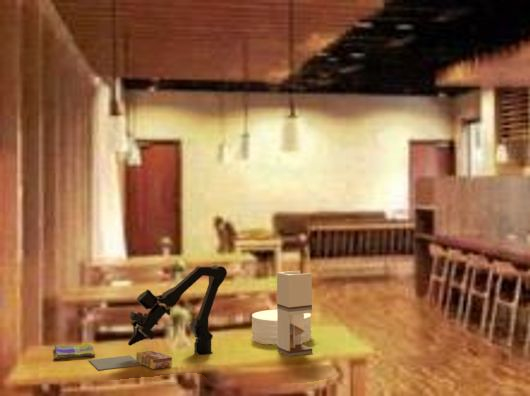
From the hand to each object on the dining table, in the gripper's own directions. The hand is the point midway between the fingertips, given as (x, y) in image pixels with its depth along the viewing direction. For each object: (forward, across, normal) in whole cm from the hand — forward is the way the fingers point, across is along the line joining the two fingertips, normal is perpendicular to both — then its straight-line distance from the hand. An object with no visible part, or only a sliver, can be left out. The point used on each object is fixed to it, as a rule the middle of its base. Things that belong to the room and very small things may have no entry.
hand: (128, 344), depth 334 cm
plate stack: (-49, -10, +60) cm, 78 cm away
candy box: (-1, +3, +8) cm, 8 cm away
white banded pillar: (-44, +18, +54) cm, 72 cm away
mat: (+9, 0, +1) cm, 9 cm away
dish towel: (+18, -26, -7) cm, 33 cm away
